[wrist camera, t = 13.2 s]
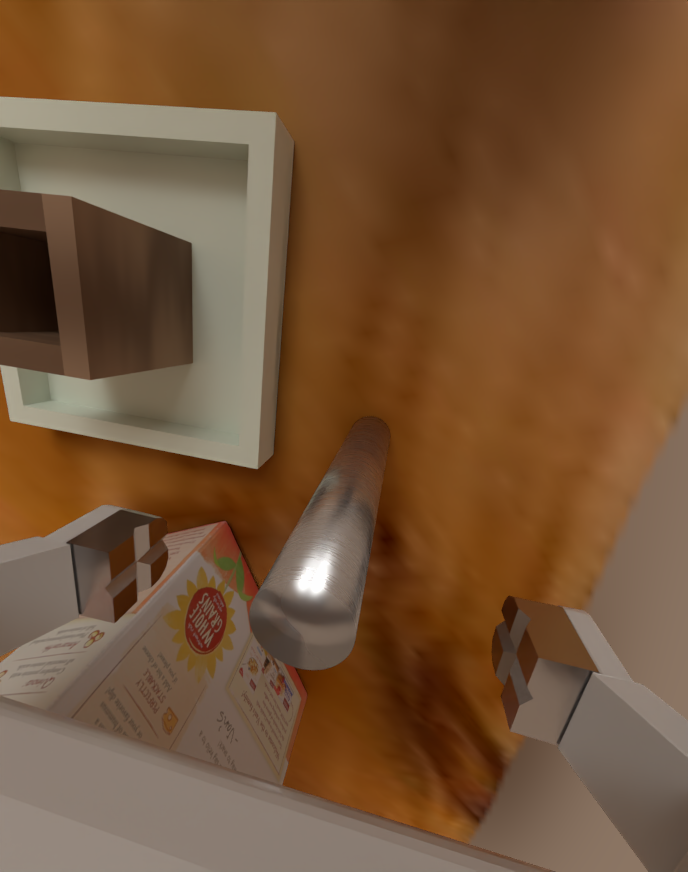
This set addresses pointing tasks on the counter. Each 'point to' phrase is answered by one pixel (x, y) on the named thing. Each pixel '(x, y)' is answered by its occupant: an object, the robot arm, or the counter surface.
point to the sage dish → (211, 265)
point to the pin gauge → (325, 559)
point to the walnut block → (90, 290)
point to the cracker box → (174, 665)
